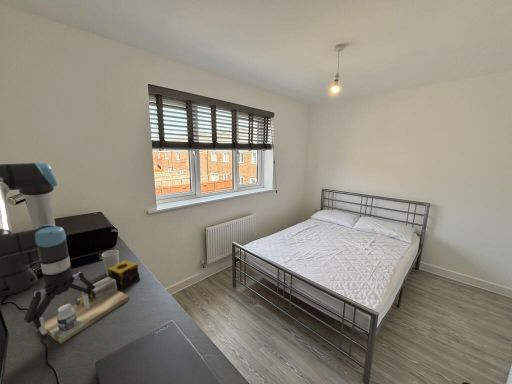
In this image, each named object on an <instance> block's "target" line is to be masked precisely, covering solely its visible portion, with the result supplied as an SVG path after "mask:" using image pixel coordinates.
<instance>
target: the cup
mask: <svg viewBox="0 0 512 384" xmlns="http://www.w3.org/2000/svg"><path fill="white" fill-rule="evenodd" d="M119 253H120V252H119V250H118V249H110V250H106V251H104V252H103V253H102V254H101V258H102V263H103V265H104V266H103V267H104V270H105V274H106V276H109V275H108V268H110V267H112V266H114V265H116V264H118V263H120V257H119V256H120V255H119Z"/></svg>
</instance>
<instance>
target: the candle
mask: <svg viewBox="0 0 512 384" xmlns="http://www.w3.org/2000/svg"><path fill="white" fill-rule="evenodd" d="M107 276H108V277H111V278H113V279H115V280H116V285H117V290H118V291H125V290H126V289H128V288H129V287H131V286H132V285H134V284H136V283H138V282H139V281H140V280H141V278H140V273H139V264H138V263H136V262H132V261H129V260H128V259H124V260H123V261H121V262H120V261H119V263H118V264H116V265H114V266H112V267H110V268H108V275H107ZM137 281H138V282H137ZM135 282H136V283H135Z"/></svg>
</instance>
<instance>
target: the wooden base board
mask: <svg viewBox="0 0 512 384" xmlns="http://www.w3.org/2000/svg"><path fill="white" fill-rule="evenodd" d="M92 284H93V285H94V286H95V289H92V290H91V291H93V292H94V294H95V297H93V298H91V299H90V300H89V304H90V308H89V309H87V308H85V307H84V303H82V304H81V305H79V306H77V305H76V304H75V305H72V308H73V309H74V310H75V313H76V319H77V325H76V327H75V328H74V329H72V330H70V331H68V332H65V333H61V332H60V331H59V327H58V322H57V315H55V316H53V317H51V318H49V319H47V320H45V321H44V324H45V329H46V333H47V334H48V335H49V337H50V336H51V338H52V339H54V340H55V341H56V342H58V343H59V344H60V345H61V344H63V343H64V342H66V341H67V340H69V339H70V338H72V337H73V336H75V335H76V334H78V333H80V332H82V331H83V330H84V329H86V328H88V327H90V325H92V324H94V323H95V322H97V321H99V320H100V319H102V318H103V317H105V316H106V315H108V314H109V313H111V312H112V311H114V310H116V309H117V308H119V307H120V306H121V305H123V304H124V303H126V302H128V301H129V300H130V295H129V294H126V293H124V292H123V291H121V290H119V289H117V285H116V280H115V279H113V278H111V277H109V276H107V277H105V278H104V277H103V279H101V280H98V281H97V282H95V283H92Z"/></svg>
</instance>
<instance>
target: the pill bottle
mask: <svg viewBox="0 0 512 384" xmlns="http://www.w3.org/2000/svg"><path fill="white" fill-rule="evenodd" d="M72 307H73V305H72V304H71V303H66V304H64V305H62V306H59V308H58V309H57V313H58V314H57V315H56V316H57V322H58V327H59V331H60V332H61V333H65V332H68V331H70V330H72V329H74V328H75V327H76V325H77V319H76V313H75V310H74V309H73V308H72Z"/></svg>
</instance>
